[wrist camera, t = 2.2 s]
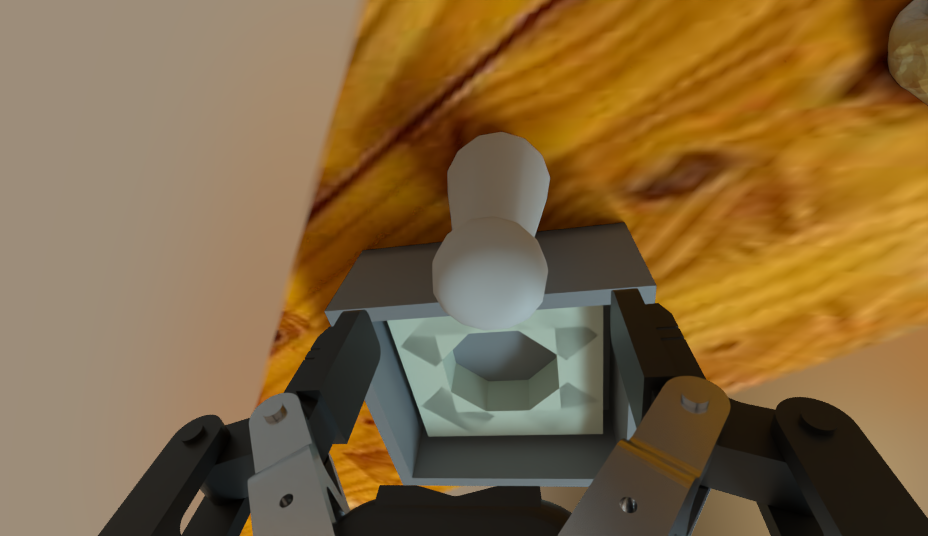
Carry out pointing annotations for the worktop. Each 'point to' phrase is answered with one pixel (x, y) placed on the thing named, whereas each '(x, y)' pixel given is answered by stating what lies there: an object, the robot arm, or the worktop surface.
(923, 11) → the ridged seashell
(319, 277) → the worktop surface
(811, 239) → the worktop surface
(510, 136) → the salt shaker
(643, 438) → the robot arm
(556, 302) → the bore box
